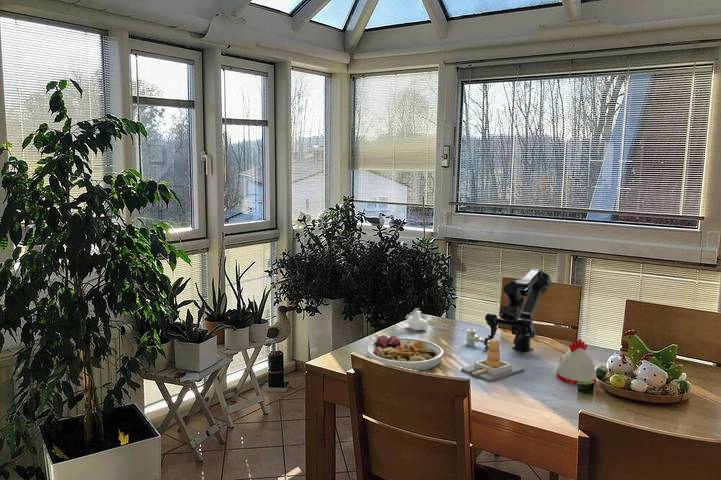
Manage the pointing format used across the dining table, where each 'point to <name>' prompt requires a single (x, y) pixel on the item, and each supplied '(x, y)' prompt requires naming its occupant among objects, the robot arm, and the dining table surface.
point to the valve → (476, 338)
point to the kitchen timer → (576, 364)
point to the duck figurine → (417, 322)
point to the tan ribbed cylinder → (493, 354)
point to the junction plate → (492, 370)
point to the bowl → (405, 352)
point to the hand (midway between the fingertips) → (502, 341)
